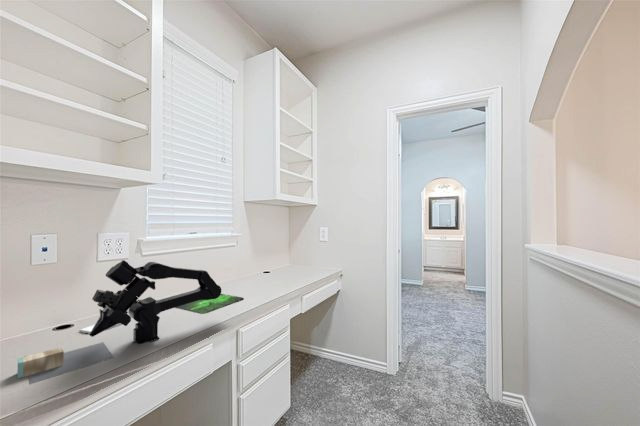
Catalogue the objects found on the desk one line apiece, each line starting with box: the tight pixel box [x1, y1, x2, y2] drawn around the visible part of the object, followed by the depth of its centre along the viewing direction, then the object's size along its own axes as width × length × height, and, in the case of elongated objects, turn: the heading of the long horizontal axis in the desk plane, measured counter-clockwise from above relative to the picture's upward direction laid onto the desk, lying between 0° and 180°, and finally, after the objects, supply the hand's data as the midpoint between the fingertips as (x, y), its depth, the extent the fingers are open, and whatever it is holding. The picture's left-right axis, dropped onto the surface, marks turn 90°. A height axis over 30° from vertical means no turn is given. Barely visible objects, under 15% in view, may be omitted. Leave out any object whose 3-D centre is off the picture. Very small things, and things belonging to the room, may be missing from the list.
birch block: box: [16, 347, 65, 379], centre depth 78 cm, size 4×4×9 cm
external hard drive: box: [78, 323, 123, 335], centre depth 109 cm, size 2×8×12 cm
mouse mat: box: [174, 293, 244, 315], centre depth 141 cm, size 27×22×1 cm
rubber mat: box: [28, 342, 115, 385], centre depth 83 cm, size 18×16×1 cm
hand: (90, 335), depth 86 cm, fingers closed
